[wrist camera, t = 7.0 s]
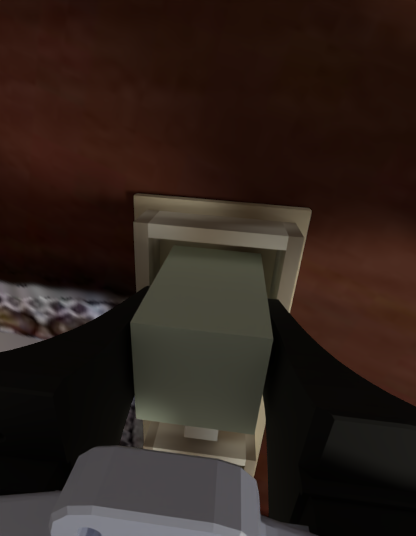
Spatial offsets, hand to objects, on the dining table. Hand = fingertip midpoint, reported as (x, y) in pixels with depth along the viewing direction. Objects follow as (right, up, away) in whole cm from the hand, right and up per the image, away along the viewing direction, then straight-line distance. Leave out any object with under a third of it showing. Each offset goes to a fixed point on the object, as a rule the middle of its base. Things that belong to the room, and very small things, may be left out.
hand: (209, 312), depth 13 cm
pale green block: (0, +1, +2) cm, 2 cm away
